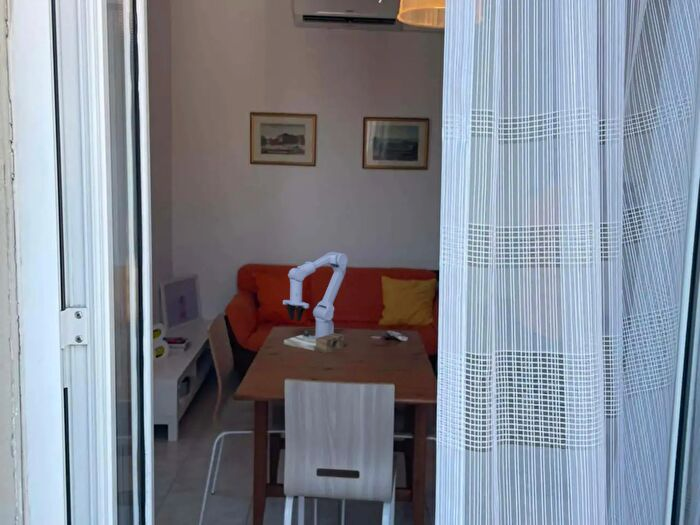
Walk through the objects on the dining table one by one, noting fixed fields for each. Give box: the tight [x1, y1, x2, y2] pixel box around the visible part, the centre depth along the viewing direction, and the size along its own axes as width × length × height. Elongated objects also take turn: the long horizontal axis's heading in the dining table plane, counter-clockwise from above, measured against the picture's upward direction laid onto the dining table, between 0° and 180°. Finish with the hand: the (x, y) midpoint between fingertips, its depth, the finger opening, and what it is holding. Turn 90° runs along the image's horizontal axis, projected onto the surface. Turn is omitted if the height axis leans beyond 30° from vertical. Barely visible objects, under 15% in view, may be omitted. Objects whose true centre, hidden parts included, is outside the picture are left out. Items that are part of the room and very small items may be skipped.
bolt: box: [303, 329, 319, 343], centre depth 288 cm, size 3×10×4 cm, turn 56°
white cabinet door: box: [283, 332, 345, 354], centre depth 288 cm, size 14×25×6 cm, turn 56°
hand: (295, 320), depth 293 cm, fingers open, 4 cm apart
